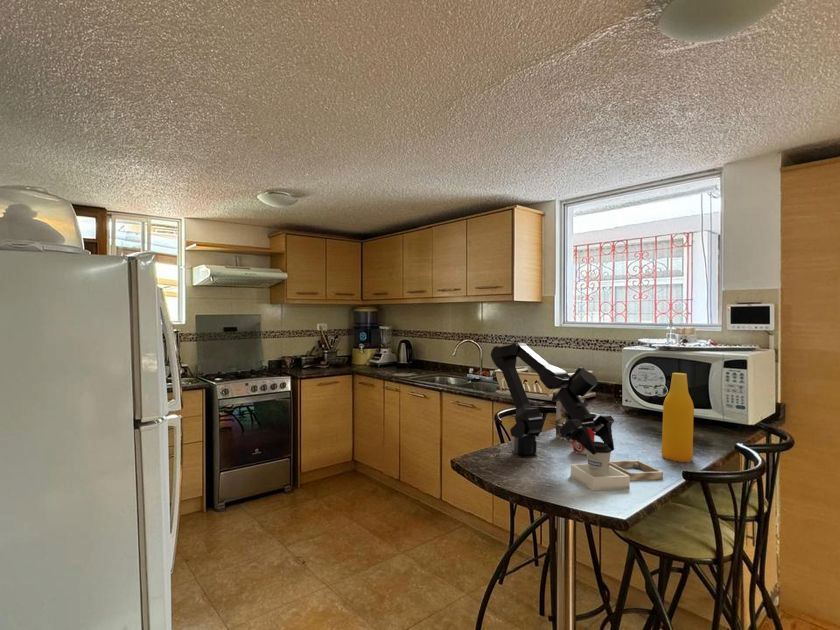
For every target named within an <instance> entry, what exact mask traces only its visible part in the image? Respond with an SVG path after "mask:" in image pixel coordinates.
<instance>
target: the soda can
mask: <svg viewBox="0 0 840 630" xmlns="http://www.w3.org/2000/svg"><path fill="white" fill-rule="evenodd" d="M588 432H589V434H590V437H591V439H592V442H595V438H596V437H595V436H596V435H593V434H594V433H595V432H594V431H592V429H591V428H590V429H588ZM572 450H573V451H574V452H575V454H578V455H582V456H587V451H586V448H585V447H584V446H583V445H581V444H580V443H579V442H578V441H576V440H573V442H572Z"/></svg>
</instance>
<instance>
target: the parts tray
mask: <svg viewBox="0 0 840 630" xmlns="http://www.w3.org/2000/svg"><path fill="white" fill-rule="evenodd" d="M609 466H611V467H613V468H615V469H617V470H619V471H621V472H623V473H625V474H627V475H628V476H630V481H643V480H644V481H645V480H648V481H649V480H663V479H664V471H663V470H659V469H658V468H655V467H653V466H651V465H649V464H647V463H645V462H642V461H640V460H639V459H638V460H637V459H635V460H633V459H632V460H612V461H611V460H610V461H609ZM628 468H635V469H640V470H642V471H638V472H631V471H629V470H627V469H628Z"/></svg>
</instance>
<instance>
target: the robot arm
mask: <svg viewBox="0 0 840 630" xmlns="http://www.w3.org/2000/svg"><path fill="white" fill-rule="evenodd" d="M517 358H519V359H520V360H521V361H522V362H524V363H525V364H526V365H527V366H528V367H530V368H531V369H532V370H533V371H534V372H536V374H537V375H538V378H539V380H540V382H541V383H542V384H543V385H544V387H545V388H546V389H548V390H558V389H559V390H558V391H556V392H553V393H552V397H551V402H557V401H559V402H560V403H561V405H562V406H563V408H564V409H565V411H566V413H565V414H564V415H565V418H566V422H565V423H563V425H562V424H559V425H556V424H555V428H554V429H555V432H556V431H557V433H558V434H559V436H560V437H562V438H565V439H567V440H568V441H567V442H570V441H569V440H576V441H578V442H579V443H580V444H581V445H583V446H584V447H585V448H586V449H587V450H588V451H589V452H591V453H592V454H593V455H595V454H596V449H595V447H594V444H593V442H592V439H591V437H590V434H589V432H588V429H590V428H591V429H592V431H594V432H595V433H594V434H593V435H595V436H596V437H599V438H600V440H601V441H602V442H603V443H606V444H607V445H608V447H610V448H611V450H612V451H611V452H613V451H614V450H615V445H614V439H613V430H612V426H613V424H614V423H615V419H614V417H612V415H609V414H603V415H599V416H598V417H597V415H596V414H595V413H593V414H592V413H591V412H590V410H588V408H587V407H588V406H589V404H588V402H586V401H585V403H583V402H582V400H581V399H580V398H581V397H585V396H586V395H587V394H588V393H589V392H591V391H592V390H593V389H594V388H595V387H596V386H597V385H598V380H597V377H596V376H595V375H594V374H593V373H591V372H590V371H588V370H586V369H585V368H584V367H578V368H577V369H576V370H575V372H574V373H573V374H572V375H570V374H569V373H568V372H567V371H566V370H564V369H562V368H560V367H558V366H555V365H552V364H550V363H549V362H547V361H546V360H545V359H543V358H542V357H541V356H540V355H539V354H538V353H536V352H535V351H534V350H533V349H531V348H530V347H529V346H528V345H527V343H525V342H514V343H512V344H508V345H507V344H506V345H501V346H500V345H499V346H498V345H496V346H493V348H492V350H491V351H490V359H491V360H492V362H493V364H494V366H496V367H497V369H499V370H500V371H501V373H502V376H503V377H504V381H505V382H506V386H507V388H508V391H509V393H510V396H511V399H512V402H513V404H514V407H515V409H516V410H515V417H514V419H515V424H514V425H513V426H512V427H511V428H510V435H511V437H514V440H513V441H514V442H513V443H514V446H513V447H514V448H513V449H512V450H511V452H512V453H513V454H514V455H516V456H518V457H519V458H537V457H538V454H537V445H538V442H537V441H536V437H540V434H541V432H542V430H543V427H544V421H543V420H544V417H542V414H541V411H540V409H539V408H538V407H535V408H534V407H533V405H531V403H530V401H529V399H528V396H527V392H526V390H525V387H524V385H523V382H522V380H521V378H520V375H519V373H518V370H517V361H518V360H517Z"/></svg>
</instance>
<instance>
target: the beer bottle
mask: <svg viewBox="0 0 840 630" xmlns="http://www.w3.org/2000/svg"><path fill="white" fill-rule="evenodd" d="M687 376H688V375H687V373H684V372H683V373H682V372H672V374H671V382H670V385H669V386H670V388H669V391H668V392H667V395H666V396H665V399H664V401H663V406H662V434H661V435H662V436H661V441H662V442H661V456H662V457H663V458H664V459H666V460H670V461H672V460H673V461H672V462H677V461H678V462H679V463H691V462H692V460H693V456H694V455H693V453H694V449H693V448H694V446H693V445H694V413H695V406H694V402H693V399H692V398H691V395H690V393H689V387H688V377H687Z"/></svg>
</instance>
